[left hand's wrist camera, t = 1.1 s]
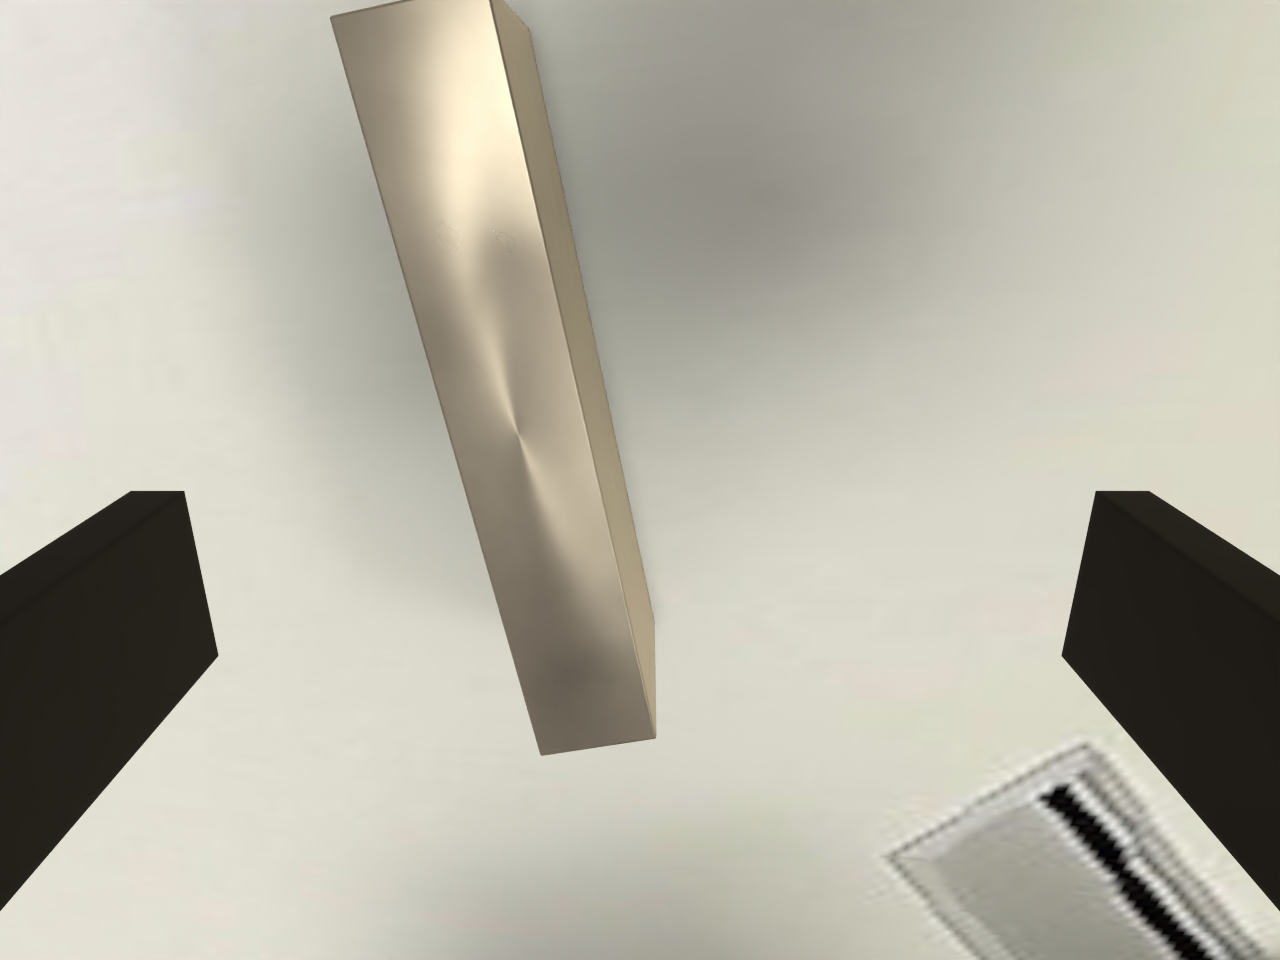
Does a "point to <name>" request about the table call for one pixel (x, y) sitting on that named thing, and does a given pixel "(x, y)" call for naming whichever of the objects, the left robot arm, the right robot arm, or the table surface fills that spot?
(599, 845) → the table surface
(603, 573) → the bar
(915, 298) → the table surface
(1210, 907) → the table surface
